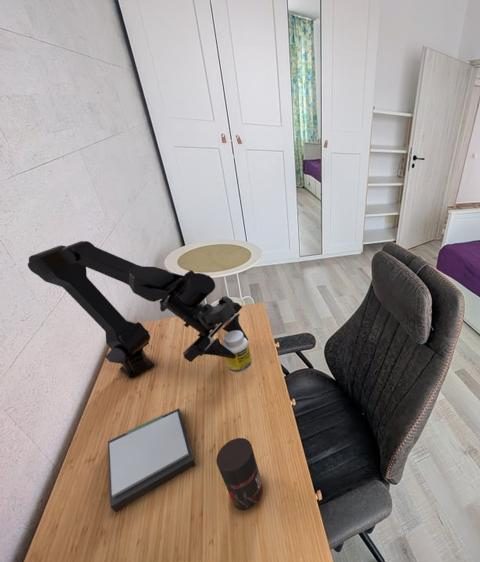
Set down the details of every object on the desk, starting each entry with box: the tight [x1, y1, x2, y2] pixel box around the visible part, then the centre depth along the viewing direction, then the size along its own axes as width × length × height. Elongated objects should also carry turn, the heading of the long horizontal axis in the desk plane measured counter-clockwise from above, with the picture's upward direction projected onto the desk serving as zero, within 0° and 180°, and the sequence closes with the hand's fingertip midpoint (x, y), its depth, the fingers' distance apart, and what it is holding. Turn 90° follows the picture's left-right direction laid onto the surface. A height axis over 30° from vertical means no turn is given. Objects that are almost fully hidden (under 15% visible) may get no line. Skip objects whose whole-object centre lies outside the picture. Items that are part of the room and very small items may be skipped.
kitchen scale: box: [107, 408, 197, 513], centre depth 63 cm, size 16×14×3 cm
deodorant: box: [215, 437, 264, 511], centre depth 55 cm, size 6×6×15 cm
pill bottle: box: [223, 330, 253, 374], centre depth 77 cm, size 6×6×11 cm
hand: (241, 349), depth 76 cm, fingers closed on pill bottle, 6 cm apart
